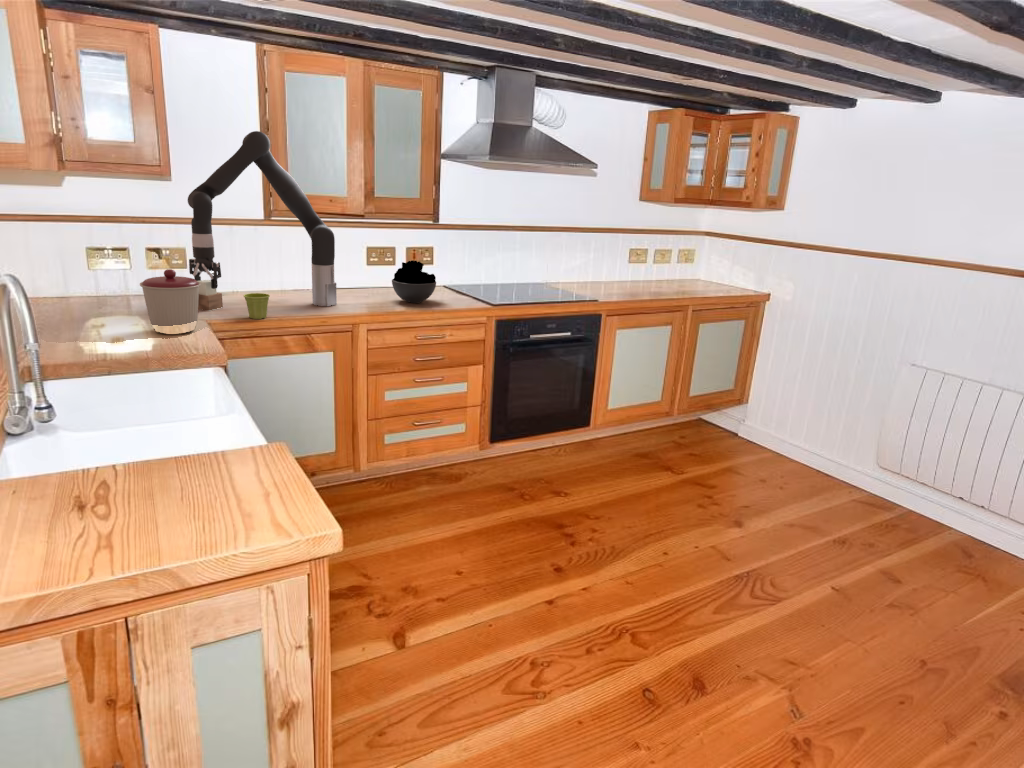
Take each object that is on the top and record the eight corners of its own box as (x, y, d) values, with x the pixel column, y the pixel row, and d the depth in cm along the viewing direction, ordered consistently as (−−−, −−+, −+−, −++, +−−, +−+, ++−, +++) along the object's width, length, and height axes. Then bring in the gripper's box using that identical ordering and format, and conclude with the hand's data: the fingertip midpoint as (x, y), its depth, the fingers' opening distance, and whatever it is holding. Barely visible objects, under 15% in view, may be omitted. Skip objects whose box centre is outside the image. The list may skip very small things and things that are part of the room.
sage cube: (216, 293, 258) (215, 281, 256) (206, 295, 253) (205, 282, 252) (207, 292, 260) (206, 279, 258) (196, 293, 255) (195, 281, 254)
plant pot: (243, 320, 243) (242, 297, 241) (245, 314, 252) (244, 292, 249) (270, 320, 246) (269, 297, 243) (271, 315, 254) (270, 293, 252)
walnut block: (222, 308, 261) (221, 293, 260) (209, 311, 254) (208, 296, 252) (205, 305, 263) (204, 291, 261) (191, 309, 256) (190, 294, 254)
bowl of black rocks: (427, 298, 312) (428, 258, 306) (441, 306, 295) (443, 264, 289) (386, 298, 303) (386, 258, 297) (399, 307, 286) (399, 264, 280)
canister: (133, 331, 218) (126, 268, 211) (183, 323, 232) (178, 264, 226) (165, 340, 209) (159, 275, 203) (215, 332, 224) (211, 270, 218)
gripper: (224, 246, 252) (227, 288, 256) (197, 242, 257) (200, 283, 262) (208, 247, 245) (212, 290, 250) (181, 244, 250) (185, 286, 255)
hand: (206, 287), depth 256 cm, fingers open, 8 cm apart
